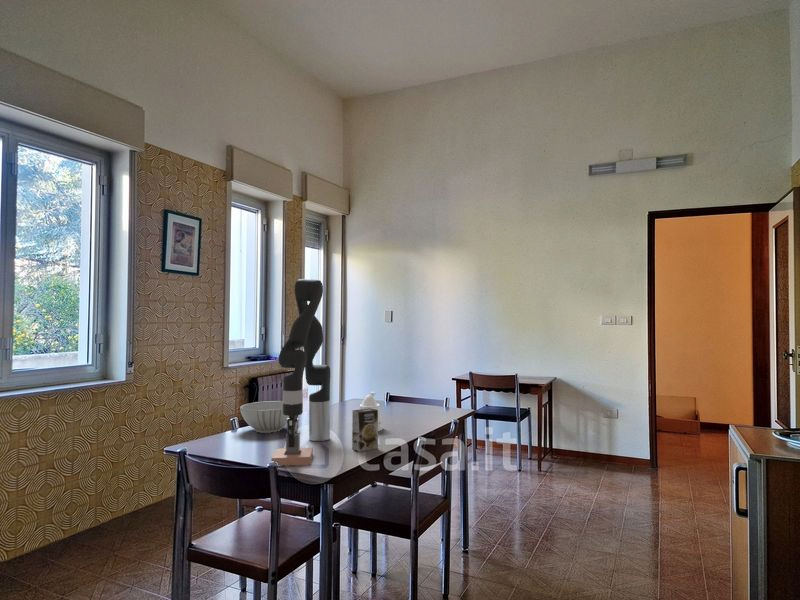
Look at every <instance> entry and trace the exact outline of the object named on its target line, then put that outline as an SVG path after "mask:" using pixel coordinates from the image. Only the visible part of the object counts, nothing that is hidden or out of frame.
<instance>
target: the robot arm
mask: <svg viewBox="0 0 800 600" xmlns="http://www.w3.org/2000/svg"><path fill="white" fill-rule="evenodd" d="M323 285H324V284H323V283H322V281H321V280H319V279H312V278H311V279H307V278H299V279H297V280H296V281H295V283H294V296H295V297H294V298H295V301H296V306H297V311H298V316H297V317H296V318H295V320H294V321H293V323H292V324H291V329H290V331H289V334H288V339H287V341H286V342H285V344H284V345H283V346H282V348H281V350H280V352H279V353H278V364H279V365H280V367H282V368H284V369H294V370H293V372H292V373H290V374H285V375H284V376H283V394H282V401H283V415H286V416H287V415H288V416H289V419H288V420H287V424H286V425H287V427H286V431H287V433H286V435H287V437H289V438H288V446H289V447H294V446H295V433H298V431H299V430H298V429H299V416H302V414H303V412H304V411H303V409H304V408H303V407H304V403H303V401H304V399H303V398H304V395H303V376H304V373H305V381H306V384H307V385H308V386H321V389H319V390H318V391H315V392H312V393H310V394H309V395H308V407H309V408H308V412H309V413H308V417H309V418H308V421H309V422H308V423H309V424H308V425H309V426H308V431H309V433H308V439H309V441H313V442H324V441H325V442H326V441H328V440H330V439H331V398H330V397H331V392H330V391H331V390H330V389H331V388H330V387H331V368H330V366H329V365H328V364H314V363H313V362H314V359H315V357H316V355H317V354H318V352H319V350H320V349H321V346H322V345H323V343H324V333H323V326H322V324H321V322H320V321H319V319H318V318H317V316H315V315H316V312H317V311H318V307H319V305H320V303H321V300H322V297H323V294H324V286H323ZM300 348H302V349H300Z"/></svg>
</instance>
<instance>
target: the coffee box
mask: <svg viewBox="0 0 800 600" xmlns="http://www.w3.org/2000/svg"><path fill="white" fill-rule="evenodd" d="M351 411H352V412H351V413H352V414H351V415H352V416H351V417H352V420H351V421H352V422H351V423H352V424H351V427H352V428H351V429H352V430H351V435H352V436H351V438H352V439H351V441H352V442H351V443H352V444H351V447H352V450H354V451H356V450H357V452H359V451H362V452H366V451H365V450H367V451H371V449H373V450H378V449H379V431H378V410H376V409H371V408H368V409H360V408H359V409H353V410H351Z"/></svg>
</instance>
